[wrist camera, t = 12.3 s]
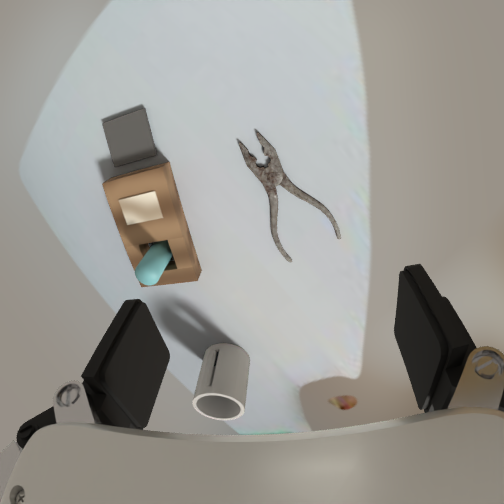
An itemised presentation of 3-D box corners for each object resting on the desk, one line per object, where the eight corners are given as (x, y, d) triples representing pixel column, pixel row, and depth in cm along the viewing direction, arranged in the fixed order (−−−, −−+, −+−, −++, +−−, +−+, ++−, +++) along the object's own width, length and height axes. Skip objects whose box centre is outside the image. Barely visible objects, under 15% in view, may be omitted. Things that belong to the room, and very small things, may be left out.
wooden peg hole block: (111, 177, 43) (101, 184, 41) (169, 161, 42) (161, 167, 39) (147, 277, 52) (141, 287, 49) (201, 270, 50) (197, 281, 47)
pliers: (296, 270, 48) (203, 176, 42) (296, 268, 49) (205, 174, 43) (347, 234, 45) (256, 128, 38) (346, 232, 46) (256, 127, 39)
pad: (104, 122, 39) (102, 123, 39) (145, 108, 38) (143, 108, 38) (116, 166, 42) (114, 167, 42) (157, 154, 41) (155, 155, 41)
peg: (150, 239, 48) (131, 265, 41) (170, 235, 48) (153, 262, 41) (157, 258, 50) (140, 286, 43) (177, 255, 49) (162, 284, 42)
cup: (229, 378, 63) (221, 424, 53) (195, 356, 61) (182, 403, 50) (259, 360, 60) (255, 410, 49) (224, 336, 57) (214, 386, 46)
